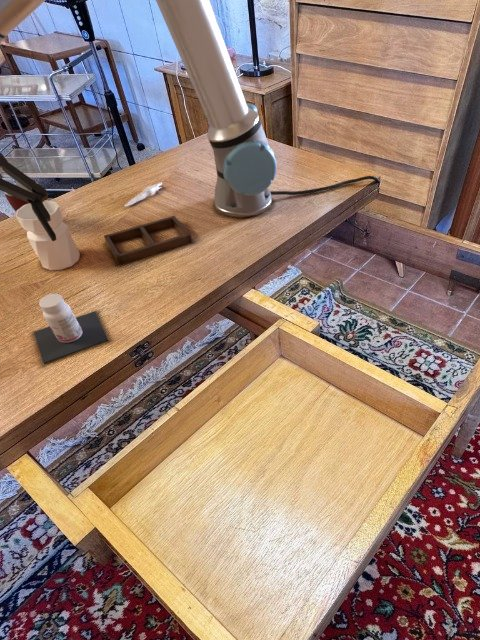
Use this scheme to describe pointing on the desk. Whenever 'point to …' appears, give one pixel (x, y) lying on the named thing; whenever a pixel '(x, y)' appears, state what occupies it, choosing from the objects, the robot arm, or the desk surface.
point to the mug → (16, 199)
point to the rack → (147, 239)
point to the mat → (56, 349)
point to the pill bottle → (60, 318)
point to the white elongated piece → (144, 193)
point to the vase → (49, 251)
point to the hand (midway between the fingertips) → (17, 252)
